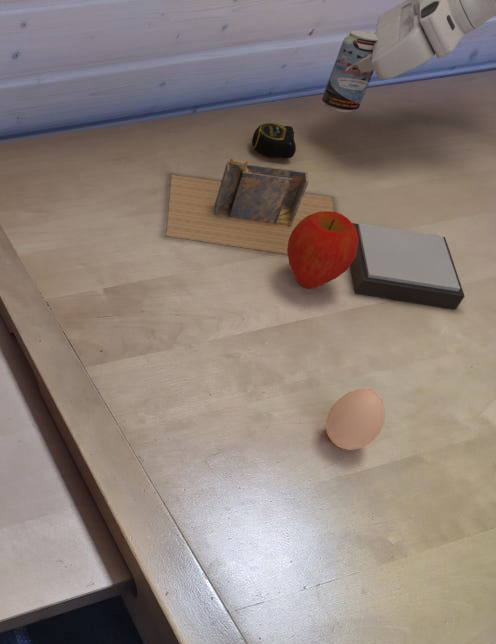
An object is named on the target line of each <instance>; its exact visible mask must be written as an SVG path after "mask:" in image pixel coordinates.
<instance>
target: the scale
mask: <svg viewBox="0 0 496 644" xmlns="http://www.w3.org/2000/svg"><path fill="white" fill-rule="evenodd" d="M351 223H352V224H353V225H354V226H355V227H356V230H357V233H358V238H359V243H358V249H357V254H356V257H355V259H354V261H353V262H352V264H351V265H350V270H351V277H352V281H353V287H354V293H355V294H357V295H364V296H369V297H376V298H381V299H388V300H395V301H401V302H407V303H412V304H418V305H425V306H432V307H438V308H444V309H451V310H457V308H458V307H459V306H460V304H461V303H462V301H463V300H464V298H465V296H466V295H465V292H464V290H463V287H462V283H461V280H460V278H459V275H458V272H457V269H456V266H455V263H454V260H453V257H452V254H451V251H450V247H449V244H448V242H447V239H446V237H445V236H444V235H439V234H433V233H427V232H420V231H414V230H407V229H399V228H393V227H388V226H380V225H374V224H368V223H360V222H358V223H355V222H351Z"/></svg>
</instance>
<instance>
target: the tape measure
mask: <svg viewBox="0 0 496 644" xmlns="http://www.w3.org/2000/svg"><path fill="white" fill-rule="evenodd" d="M251 145H252V148H253V150H254V151H255V152H256V153H258V154H259V155H261V156H263V157H266V158H268V159H292V158H293V157H294V156H295V154H296V151H297V146H296V145H297V144H296V141H295V131H294V128H293V126H291V125H281V124H279V123H275V122H267V123H263V124H260V125H259V126H257V128H256V129H255V131H254V133H253V135H252V139H251Z"/></svg>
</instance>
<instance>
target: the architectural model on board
mask: <svg viewBox="0 0 496 644" xmlns="http://www.w3.org/2000/svg"><path fill="white" fill-rule="evenodd" d="M308 185H309V176H308V171H301V170H294V169H287V168H286V169H285V168H279V167H273V166H272V167H271V166H265V165H258V164H250V163H249V160H246V161H244V160H243V161H241V160H237V159H236V158H233V157H232V156H231V157H230V160H228V161H226V164H225V168H224V171H223V174H222V178H221V181H217V180H210V179H204V178H196V177H188V176H182V175H174V174H171V178H170V190H169V203H168V214H167V226H166V237H170V238H177V239H182V240H183V239H184V240H190V241H197V242H204V243H211V244H217V245H224V246H231V247H236V248H237V247H238V248H243V249H250V250H257V251H264V252H270V253H276V254H283V255H288V253H287V248H288V240H289V237H290V235H291V233H292V231H293V229H294V228H295V227H296V226H297V225H298V223H299V222H300V221H301V220H302V219H304V218H305V217H307V216H308V215H311V214H314V213H317V212H326V211H330V212H335V210H334V209H335V208H334V204H333V199H332V197H330V196H323V195H316V194H309V193H305V192H306V190H307V188H308Z"/></svg>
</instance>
